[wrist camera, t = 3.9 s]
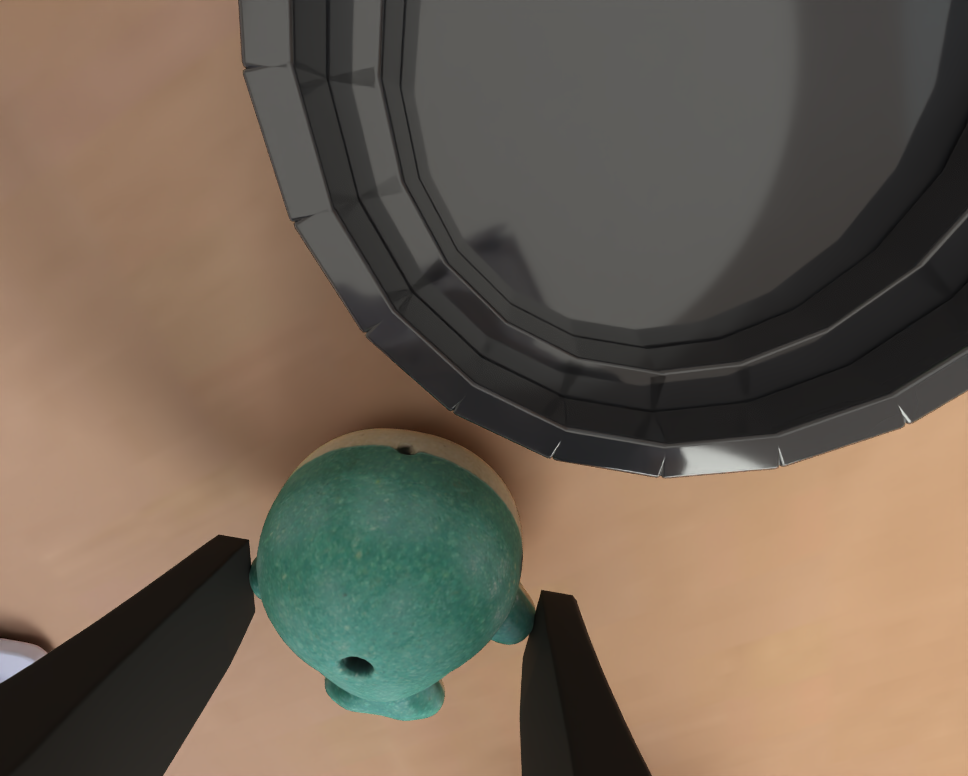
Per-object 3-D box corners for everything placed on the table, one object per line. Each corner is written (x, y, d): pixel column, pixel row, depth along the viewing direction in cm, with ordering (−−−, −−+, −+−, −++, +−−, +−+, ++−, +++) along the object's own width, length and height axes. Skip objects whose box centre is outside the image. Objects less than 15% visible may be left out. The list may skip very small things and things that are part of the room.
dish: (854, 439, 9) (957, 530, 7) (324, 349, 9) (261, 412, 7) (1346, -432, 5) (2050, -935, 3) (326, -583, 5) (161, -1179, 3)
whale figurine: (574, 438, 10) (600, 596, 6) (502, 675, 13) (492, 865, 9) (278, 380, 10) (141, 507, 6) (281, 631, 13) (190, 807, 9)
